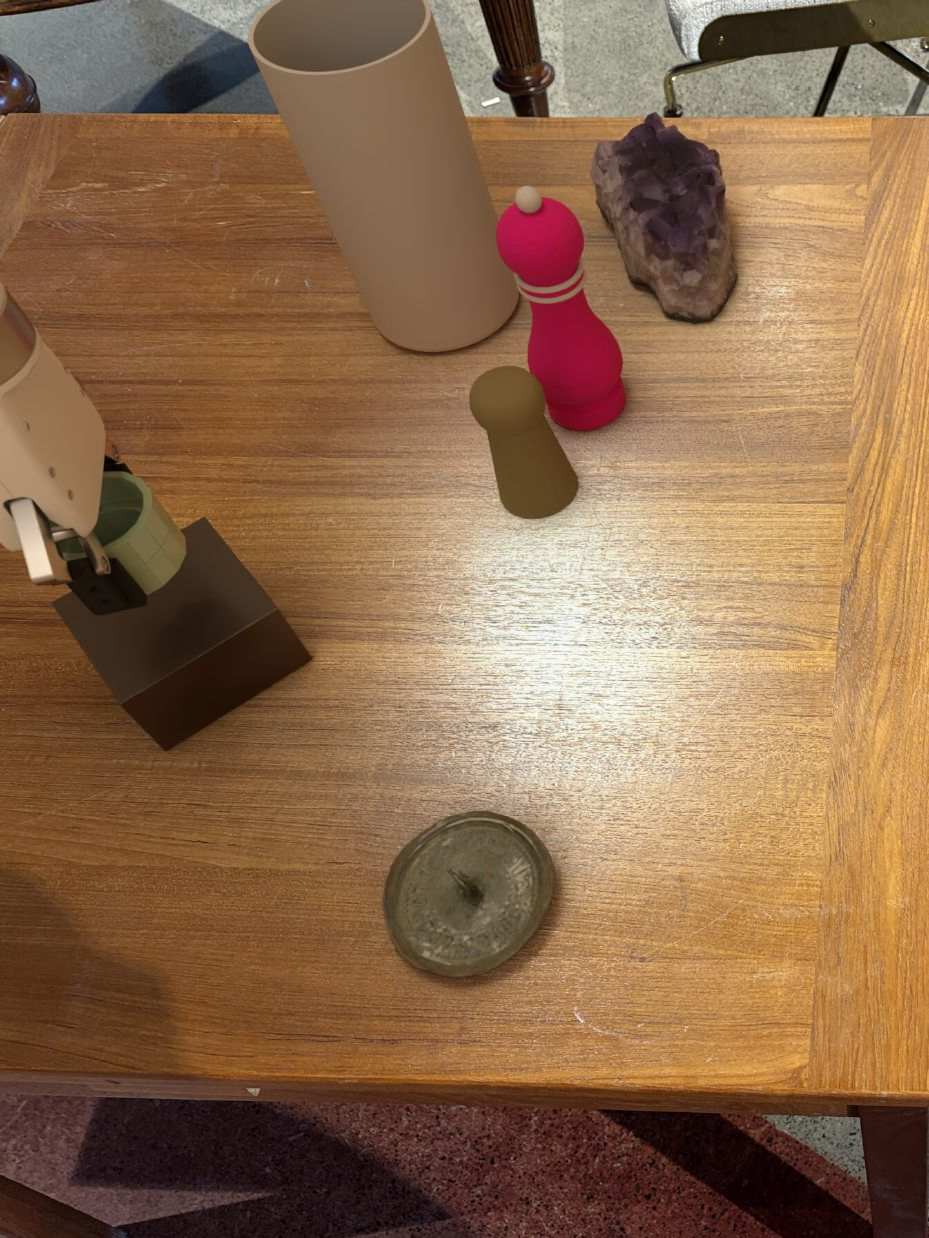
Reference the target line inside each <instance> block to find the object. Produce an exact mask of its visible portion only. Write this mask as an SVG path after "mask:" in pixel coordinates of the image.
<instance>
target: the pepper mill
mask: <svg viewBox="0 0 929 1238" xmlns="http://www.w3.org/2000/svg"><path fill="white" fill-rule="evenodd" d="M514 201H515V202H514V203H513V204H511V205H509V206H508V207H507V208H506V209H505V210H504V211H503V212H502V214H501V216H500V217H499V218H498V221H499V222H498V224H497V229H496V242H497V248H498V252H499V254H500V256H501V258H502V260H503V261H504V263H505V264H506V265H507V267H508V268H509V269H511V270H512V271H513V272H514V278H515V281H516V282H517V288H518V290H519V294H520V295H521V296H522V297H523V298H525V299H526V300H528V303H529V307H530V312H531V327H530V333H529V338H528V343H527V354H526V355H527V362H526V363H527V366H528V372H530V373H531V374H533V375H534V376H535V377H536V379H537V380H538V381H539V383H540V384H541V386H542V387H543V391H544V394H545V401H546V403H545V405H546V407H547V410H548V413H549V416H550V417H551V419H552V420H553V421H554V422H555V423H556V424H558V425H559V426H560V427H563V428H565V429H568V430H572V431H581V432H582V431H583V432H585V431H591V430H596V429H600V428H602V427H604V426H606V425H608V424H610V423H612V422H613V421H614V420H616V419H617V418H618V417H619V416H620V415H621V413H622V412H623V410H624V409H625V406H626V403H627V394H626V391H625V387H624V383H623V379H622V376H621V375H622V372H623V367H624V358H623V357H624V356H623V353H622V351H621V347H620V344H619V342H618V340H617V338H616V337H615V335H614V334H613V332H612V331H611V329H610V328H609V327H608V325H606V324H605V323H604V322H603V320H602V319H600V318H599V317H598V316H597V315H596V314H595V313H594V311H593V309H592V308H591V307H590V304H589V303H588V300H587V297H586V294H585V289H584V286H585V284H586V281H587V271H586V269H585V266H584V265H585V264H584V260H583V258H582V254H583V252H584V247H585V238H584V237H585V236H584V232H583V229H582V226H581V224H580V222H579V220H578V218H577V216H576V215H575V213H574V212H573V211H572V210H571V209H570V208H569V207H567V206H566V205H565V204H564V203H563V202H560V201H558V200H557V199H554V198H551V197H545V196H542V194H541V193H540V191H539V190H538V189H537V188H536V187H534V186H531V185H524V186H521V187H520V188H518V189H517V191H516V193H515V195H514Z"/></svg>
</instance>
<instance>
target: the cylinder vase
mask: <svg viewBox="0 0 929 1238" xmlns="http://www.w3.org/2000/svg"><path fill="white" fill-rule="evenodd" d="M247 43H248V46H249V49H250V52H251V53H252V56H253V58H254V60H255V63H256V65H257V67H258V69H259V71H260V73H261V76H262V78H263V80H264V83H265V85H266V87H267V90H268V91H269V93H270V96H271V98H272V100H273V102H274V104H275V107H276V109H277V111H278V114H279V116H280V118H281V120H282V122H283V126H284V127H285V129H286V131H287V134H288V136H289V139H290V140H291V142H292V145H293V147H294V149H295V151H296V154H297V156H298V158H299V160H300V163H301V165H302V167H303V169H304V171H305V173H306V176H307V179H308V180H309V183H310V185H311V187H312V189H313V191H314V193H315V196H316V198H317V200H318V203H319V205H320V206H321V209H322V211H323V213H324V216H325V218H326V220H327V223H328V224H329V227H330V229H331V232H332V235H333V236H334V238H335V240H336V243H337V245H338V247H339V250H340V251H341V254H342V256H343V258H344V260H345V263H346V265H347V267H348V270H349V271H350V274H351V276H352V278H353V280H354V283H355V285H356V287H357V289H358V292H359V294H360V296H361V298H362V300H363V303H364V305H365V307H366V309H367V311H368V314H369V316H370V318H371V320H372V322H373V325H374V326H375V328H376V329H377V331H378V332H379V334H380V335H382V336H383V337H384V338H385V339H387V340H388V341H389V342H391V343H393V344H394V345H397V346H399V347H402V348H404V349H408V350H411V351H417V352H424V353H442V352H450V351H455V350H459V349H463V348H466V347H469V346H472V345H475V344H477V343H479V342H481V341H483V340H485V339H487V338H488V337H490V336H492V335H493V334H494V333H496V332H497V331H498V330H500V329H501V328H502V326H504V325H505V324H506V322H507V321H509V319H510V318H511V317H512V315H513V313H514V311H515V310H516V308H517V304H518V301H519V296H520V292H519V290H518V288H517V282H516V281H515V278H514V272H513V271H512V270H511V269H509V268H508V267H507V265H506V264H505V263H504V261H503V260H502V258H501V256H500V254H499V252H498V248H497V242H496V229H497V224H498V222H499V218H498V215H497V212H496V208H495V206H494V202H493V199H492V196H491V193H490V189H489V187H488V183H487V180H486V177H485V173H484V171H483V168H482V164H481V162H480V159H479V155H478V152H477V149H476V145H475V143H474V140H473V137H472V134H471V130H470V126H469V124H468V121H467V118H466V114H465V112H464V109H463V105H462V102H461V99H460V95H459V92H458V89H457V86H456V83H455V80H454V76H453V73H452V71H451V68H450V63H449V62H448V58H447V55H446V52H445V48H444V45H443V43H442V40H441V36H440V33H439V30H438V27H437V23H436V20H435V17H434V14H433V12H432V8H431V5H430V2H429V0H274V1H273V2H272V3H270V4H269V5H268V6H267V7H265V8H264V9H263V10H262V11H261V12H260V13H259V14H258V15H257V16H256V18H255V19H254V20H253V22H252V24H251V25H250V27H249V30H248V36H247Z"/></svg>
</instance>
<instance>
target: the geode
mask: <svg viewBox="0 0 929 1238" xmlns="http://www.w3.org/2000/svg"><path fill="white" fill-rule="evenodd" d="M720 156H721V155H720V153H719V152H718V151H717V150H716V148H712V149H710V148H709V146H707V145H706V144H705V143H703V142H701V141H698V140H694V139H689V138H688V137H687V136H686V135H685V134H683V133H682V132H681V131H679V128H678V126H676V124H671V125H669V126H668V125H667V126H665V123H664V120H663V118H662V116H661V115H659V113H658V112H657V111H652V112H651V113H649V114H647V115H646V117H645V119H644V121H643V122H642V123H639V124H637V125H635V126H633V127H632V128H630V130H629V131H628V133H627V134H626V135H624V136H623V137H622V138H621V139H620V140H604V141H601V142H599V143H598V144H597V145H596V148H595V151H594V153H593V158H592V162H591V168H590V169H589V173H590V177H591V180H592V183H593V185H594V191H595V204H596V206H597V207H598V209H599V211H600V214H601V216H602V217H603V218H604V220H606V222H608V224H609V225H610V226H611V227H612V229H614V235H615V238H616V242H617V249H619V251H620V253H621V257H622V260H623V263H624V266H625V271H626V274H627V277H628V279H629V281H630V282H632V283H635V284H638V285H643V286H644V285H645V286H647V287H649V289H650V290H651V291H652V292H653V293H654V294H655V296H656V297H657V300H658V303H659V306H660V307H661V310H662V312H663V313H664V315H665V316H666V317H667V319H672V320H677V321H681V322H686V323H692V324H697V323H709V322H711V321H713V320H714V319H715V318H716V317H717V316H718V315H719V314H720V313H721V311H722V310H723V308H724V307H725V305H726V304H727V303H728V300H729V298H730V296H731V294H732V292H733V290H734V289H735V287H736V285H737V281H738V275H739V273H738V270H737V267H736V263H735V253H734V249H733V246H732V245H731V234H732V230H731V225H730V223H729V221H728V214H729V212H728V209H727V207H726V203H727V198H726V192H727V191H726V189H727V188H726V187H727V186H726V183H725V179H724V178H723V173H724V172H723V168H722V165H721V163H720V161H721V159H720V158H721V157H720Z"/></svg>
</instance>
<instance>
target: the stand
mask: <svg viewBox="0 0 929 1238" xmlns="http://www.w3.org/2000/svg"><path fill="white" fill-rule="evenodd" d="M180 530H181V532H182V533H183V535H184V536H185V539H186V555H185V558H184V560H183V562H182V564H181V567H180V569H179V570H178V572H177V573H176V574H175V575H174V576H173V577H172V578H171V579H170V580H169V581H168V582H167V583H166V584H165V585H164V586H162V587H161V588H159V589H158V590H156V591H154V592H152V593H151V594H149V595H147V596H148V597H147V605H145V606H143V607H138V608H133V609H129V610H124V611H120V612H115V613H110V614H106V615H100V616H99V615H94V614H93V613H92V612H91V611H90V610H89V609H88V608H87V607H86V606H85V605H84V604H83V603H82V601H81V600H80V599H79V598H78V597H77V596H76V595H75V594H74V593H73V591H72V590H70V591H69V592H67V593H65V594H64V595H62V596H60V597H58V598H56V599H54V600H53V601H51V602H50V604H51V606H52V607H53V608H54V610H55V611H56V613H57V615H58V616H59V618H60V619H61V620H62V622H63V623H64V625H65V626H66V628H67V630H68V631H69V632H70V634H71V635H72V637H73V638H74V640H75V641H76V643H77V644H78V646H79V647H80V648H81V650H82V652H83V653H84V654H85V656H86V657H87V659H88V661H89V662H90V663H91V665H92V667H94V670H95V671H96V672H97V674H98V675H99V677H100V678H101V680H102V681H103V682H104V684H105V686H106V687H107V689H108V690H109V691H110V693H111V695H112V696H113V698H114V699H115V701H116V702H117V704H118V705H119V706H120V707H121V708H122V709H123V710H124V711H125V713H127V714H128V715H129V716H130V717H131V718H132V719H133V720H134V721H135V723H136V724H137V725H139V727H141V729H143V731H144V732H145V733H146V734H147V735H148V736H149V737H150V738H151V739H152V740H153V741H154V742H155V743H156V744H157V745H158V746H159V747H160V748H161V749H162V750H163V751H164V752H167V751H169V750H171V749H172V748H174V747H176V746H177V745H179V744H180V743H182V742H183V741H185V740H187V739H188V738H190V737H191V736H193V735H195V734H197V733H198V732H199V731H201V730H203V729H204V728H206V727H208V726H209V725H211V724H212V723H214V722H216V721H218V720H219V719H220V718H222V717H223V716H225V715H227V714H229V713H231V712H232V711H233V710H235V709H236V708H238V707H239V706H241V705H242V704H244V703H247V701H249V700H250V699H253V698H254V697H255V696H257V695H258V694H260V693H262V692H264V691H265V690H267V689H268V688H270V687H272V686H273V685H274V684H276V683H277V682H279V681H281V680H282V679H284V678H286V677H287V676H289V675H290V674H292V673H294V672H295V671H297V670H299V669H300V668H301V667H303V666H306V665H307V664H308V663H310V662H311V661H313V660H314V657H313V656H312V654H311V653H310V652H309V650H308V649H307V648H306V646H305V644H304V643H303V641H302V640H301V639H300V637H299V635H298V634H297V632H295V630H294V628H293V626H291V624H290V623H289V621H288V620H287V619H286V617H285V616H284V614H283V613H282V611H281V610H280V608H279V607H278V606H277V605H276V603H275V602H274V601H273V600H272V598H271V597H270V596H269V594H268V593H267V592H266V591H265V590H264V588H263V587H262V586H261V585H260V583H259V582H258V581H257V580H256V578H255V577H254V576H253V575H252V573H251V572H250V571H249V570H248V568H247V567H246V566H245V564H244V563H242V561H241V560H240V559H239V557H238V556H237V555H236V554H235V552H234V551H233V550H232V549H231V547H230V546H229V544H227V542H226V541H225V540H224V538H223V536H221V535H220V533H219V532H218V531H217V530H216V528H215V527H214V526H213V525H212V524H211V522H210V521H209V520H208V519H207V518H206V516H203V517H201V518H199V519H197V520H196V521H194V522H192V523H190V524H189V525H187V526H185V527H183V528H181V529H180ZM218 718H219V719H218Z"/></svg>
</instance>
